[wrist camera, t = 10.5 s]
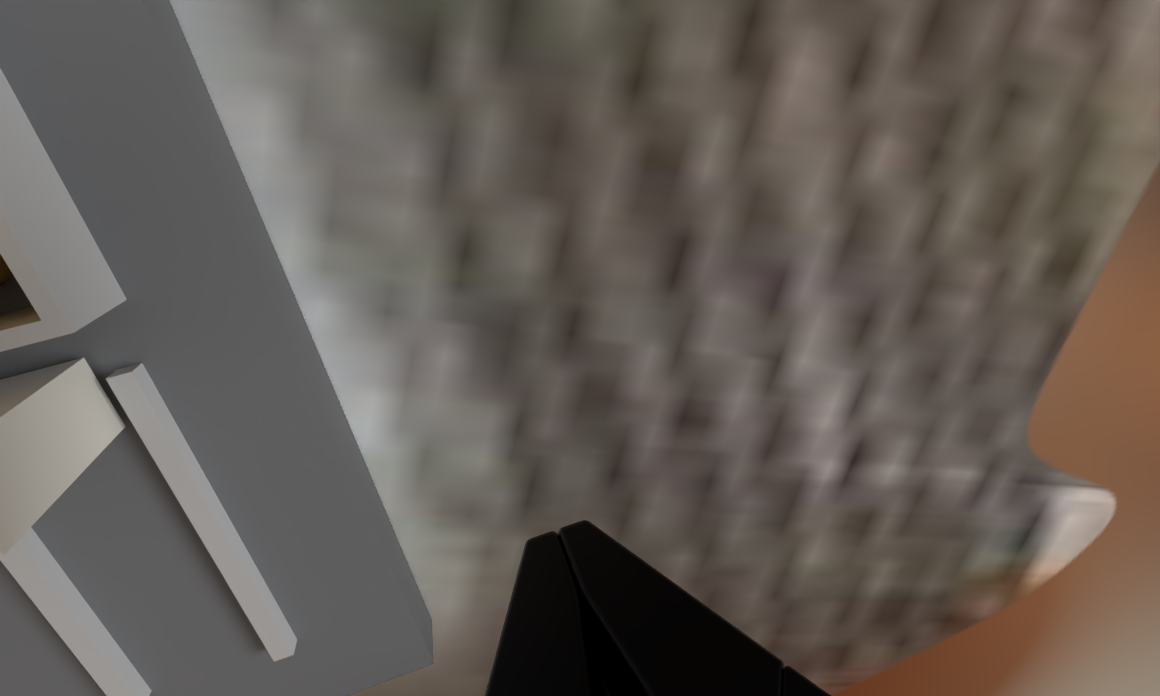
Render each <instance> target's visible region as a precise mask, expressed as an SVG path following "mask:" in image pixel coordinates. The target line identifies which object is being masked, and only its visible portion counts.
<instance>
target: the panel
mask: <svg viewBox="0 0 1160 696" xmlns="http://www.w3.org/2000/svg"><path fill="white" fill-rule="evenodd" d="M0 254H1V256H2V257H3V259H4V260H5V262H6V264H7V265H8V267H9V269H10V270H11V272H12V273H13V275H12V276H11V277H10V278H9V279H8V280H7V281H5V282H4V283H3V284H2V285H0V380H1V379H5V378H8V377H12V376H16V375H20V374H23V373H27V372H31V371H35V370H38V369H42V368H46V367H50V366H54V365H57V364H61V363H65V362H69V361H72V360H76V359H80V358H85V360H86V362H87V363H88V365H89V367H90V368H91V370H92V372H93V373H94V375H95V377H96V378H97V380H98V382H99V383H100V385H101V387H102V388H103V390H104V392H105V393H106V395H107V397H108V398H109V400H110V402H111V403H112V405H113V407H114V408H115V410H116V412H117V413H118V415H119V417H120V418H121V420H122V422H123V423H124V425H125V426H126V427H125V428H124V429H123V430H122V431H121V432H120V433H119V434H118V435H117V436H116V437H115V438H114V439H113V440H112V442H111V443H110V444H109V445H108V446H107V447H106V448H105V449H104V450H103V451H102V452H101V453H100V454H99V455H98V456H97V457H96V458H95V460H94V461H93V462H92V463H91V464H90V465H89V466H88V467H87V468H86V469H85V470H84V471H83V472H82V473H81V474H80V475H79V477H78V478H77V479H76V480H75V481H74V482H73V483H72V484H71V485H70V486H69V487H68V488H67V489H66V490H65V491H64V492H63V493H62V495H61V496H60V497H59V498H58V499H57V500H56V501H55V502H54V503H53V504H52V505H51V506H50V507H49V508H48V509H47V510H46V512H45V513H44V514H43V515H42V516H41V517H40V518H39V519H38V520H37V521H36V522H35V523H34V524H33V525H32V526H31V527H30V528H29V530H28V531H27V532H26V533H25V534H24V535H23V536H22V537H21V538H20V539H19V540H18V541H17V542H16V543H15V544H14V545H13V546H12V548H11V549H10V550H9V551H8V552H7V553H6V554H5V555H3V556H0V696H347V695H350V694H353V693H355V692H358V691H361V690H363V689H366V688H369V687H372V686H374V685H377V684H380V683H382V682H385V681H388V680H390V679H393V678H396V677H398V676H401V675H404V674H407V673H409V672H412V671H415V670H417V669H420V668H423V667H425V666H428V665H431V664H433V640H432V619H431V617H430V615H429V612H428V610H427V608H426V605H425V603H424V600H423V598H422V596H421V593H420V591H419V589H418V586H417V584H416V582H415V579H414V577H413V575H412V572H411V570H410V567H409V565H408V563H407V560H406V558H405V556H404V553H403V551H402V549H401V546H400V544H399V542H398V539H397V537H396V534H395V532H394V530H393V527H392V525H391V523H390V520H389V518H388V516H387V513H386V511H385V508H384V506H383V504H382V501H381V499H380V497H379V494H378V492H377V490H376V487H375V485H374V483H373V480H372V478H371V475H370V473H369V471H368V468H367V466H366V464H365V461H364V459H363V457H362V454H361V452H360V449H359V447H358V445H357V442H356V440H355V438H354V435H353V433H352V431H351V428H350V426H349V424H348V421H347V419H346V416H345V414H344V412H343V409H342V407H341V405H340V402H339V400H338V398H337V395H336V393H335V391H334V388H333V386H332V383H331V381H330V379H329V376H328V374H327V372H326V369H325V367H324V365H323V362H322V360H321V357H320V355H319V353H318V350H317V348H316V346H315V343H314V341H313V339H312V336H311V334H310V332H309V329H308V327H307V324H306V322H305V320H304V317H303V315H302V313H301V310H300V308H299V306H298V303H297V301H296V298H295V296H294V294H293V291H292V289H291V287H290V284H289V282H288V280H287V277H286V275H285V273H284V270H283V268H282V265H281V263H280V261H279V258H278V256H277V254H276V251H275V249H274V247H273V244H272V242H271V240H270V237H269V235H268V232H267V230H266V228H265V225H264V223H263V221H262V218H261V216H260V214H259V211H258V209H257V206H256V204H255V202H254V199H253V197H252V195H251V192H250V190H249V188H248V185H247V183H246V181H245V178H244V176H243V173H242V171H241V169H240V166H239V164H238V162H237V159H236V157H235V155H234V152H233V150H232V148H231V145H230V143H229V140H228V138H227V136H226V133H225V131H224V129H223V126H222V124H221V122H220V119H219V117H218V114H217V112H216V110H215V107H214V105H213V103H212V100H211V98H210V96H209V93H208V91H207V89H206V86H205V84H204V81H203V79H202V77H201V74H200V72H199V70H198V67H197V65H196V63H195V60H194V58H193V55H192V53H191V51H190V48H189V46H188V44H187V41H186V39H185V37H184V34H183V32H182V30H181V27H180V25H179V22H178V20H177V18H176V15H175V13H174V11H173V8H172V6H171V4H170V1H169V0H0Z"/></svg>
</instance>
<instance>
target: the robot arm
mask: <svg viewBox="0 0 1160 696" xmlns="http://www.w3.org/2000/svg"><path fill="white" fill-rule="evenodd" d="M558 535H559V536H558ZM485 696H831V695H829V694H828V693H826V692H825V691H823V690H822V689H821V688H819V687H818V686H816V685H815V684H814V683H812V682H811V681H810V680H808V679H807V678H805V677H804V676H803V675H801V674H800V673H799V672H797V671H796V670H795V669H793V668H792V667H790V666H786V667H785V668H784V663H783V662H782V661H781V660H780V659H779V658H777V657H776V656H775V655H773V654H772V653H770V652H769V651H768V650H766V649H765V648H764V647H762V646H761V645H759V644H758V643H757V642H755V641H754V640H753V639H751V638H750V637H748V636H747V635H746V634H744V633H743V632H741V631H740V630H739V629H737V628H736V627H735V626H733V625H732V624H730V623H729V622H728V621H726V620H725V619H723V618H722V617H721V616H719V615H718V614H717V613H715V612H714V611H712V610H711V609H710V608H708V607H707V606H705V605H704V604H703V603H701V602H700V601H699V600H697V599H696V598H694V597H693V596H692V595H690V594H689V593H687V592H686V591H685V590H683V589H682V588H681V587H679V586H678V585H676V584H675V583H674V582H672V581H671V580H669V579H668V578H667V577H665V576H664V575H663V574H661V573H660V572H658V571H657V570H656V569H654V568H653V567H651V566H650V565H649V564H647V563H646V562H645V561H643V560H642V559H640V558H639V557H638V556H636V555H635V554H633V553H632V552H631V551H629V550H628V549H627V548H625V547H624V546H622V545H621V544H620V543H618V542H617V541H616V540H614V539H613V538H611V537H610V536H609V535H607V534H606V533H604V532H603V531H602V530H600V529H599V528H598V527H596V526H595V525H593V524H592V523H591V522H589V521H586V520H583V521H580V522H577V523H574V524H571V525H568V526H565V527H562V528H561V529H560V530H559V532H558V534H557V533H556V532H554V531H551V532H548V533H545V534H542V535H539V536H536V537H533V538H531V539H529V540H528V541H527V542H526V544H525V547H524V551H523V555H522V558H521V562H520V566H519V570H518V573H517V577H516V581H515V585H514V588H513V592H512V596H511V600H510V603H509V607H508V611H507V615H506V618H505V622H504V626H503V630H502V633H501V637H500V641H499V645H498V648H497V652H496V656H495V660H494V663H493V667H492V671H491V675H490V678H489V682H488V686H487V690H486V693H485Z"/></svg>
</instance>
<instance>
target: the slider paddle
mask: <svg viewBox="0 0 1160 696" xmlns="http://www.w3.org/2000/svg"><path fill="white" fill-rule="evenodd" d="M125 427H126V426H125V425H124V423H123V422H122V420H121V418H120V417H119V415H118V413H117V412H116V410H115V408H114V407H113V405H112V403H111V402H110V400H109V398H108V397H107V395H106V393H105V392H104V390H103V388H102V387H101V385H100V383H99V382H98V380H97V378H96V377H95V375H94V373H93V372H92V370H91V368H90V367H89V365H88V363H87V362H86V360H85V358H80V359H76V360H72V361H69V362H65V363H61V364H57V365H54V366H50V367H46V368H42V369H38V370H35V371H31V372H27V373H23V374H20V375H16V376H12V377H8V378H5V379H1V380H0V556H3V555H5V554H6V553H7V552H8V551H9V550H10V549H11V548H12V546H13V545H14V544H15V543H16V542H17V541H18V540H19V539H20V538H21V537H22V536H23V535H24V534H25V533H26V532H27V531H28V530H29V528H30V527H31V526H32V525H33V524H34V523H35V522H36V521H37V520H38V519H39V518H40V517H41V516H42V515H43V514H44V513H45V512H46V510H47V509H48V508H49V507H50V506H51V505H52V504H53V503H54V502H55V501H56V500H57V499H58V498H59V497H60V496H61V495H62V493H63V492H64V491H65V490H66V489H67V488H68V487H69V486H70V485H71V484H72V483H73V482H74V481H75V480H76V479H77V478H78V477H79V475H80V474H81V473H82V472H83V471H84V470H85V469H86V468H87V467H88V466H89V465H90V464H91V463H92V462H93V461H94V460H95V458H96V457H97V456H98V455H99V454H100V453H101V452H102V451H103V450H104V449H105V448H106V447H107V446H108V445H109V444H110V443H111V442H112V440H113V439H114V438H115V437H116V436H117V435H118V434H119V433H120V432H121V431H122V430H123V429H124V428H125Z"/></svg>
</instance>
